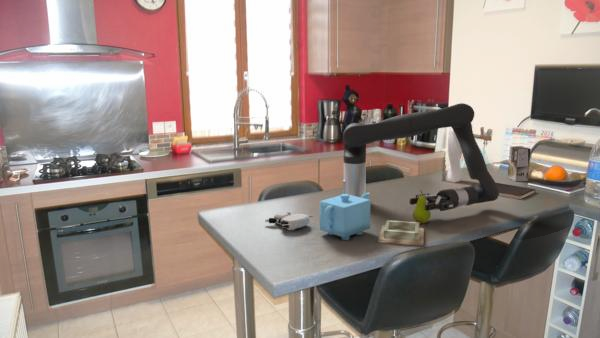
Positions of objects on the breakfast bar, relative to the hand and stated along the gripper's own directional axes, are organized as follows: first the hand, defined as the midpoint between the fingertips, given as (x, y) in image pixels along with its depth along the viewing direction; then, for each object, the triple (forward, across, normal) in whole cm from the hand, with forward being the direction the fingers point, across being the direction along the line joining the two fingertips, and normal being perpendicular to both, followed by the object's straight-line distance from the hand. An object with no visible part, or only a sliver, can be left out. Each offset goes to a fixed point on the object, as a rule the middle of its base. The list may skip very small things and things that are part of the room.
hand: (417, 204), depth 161 cm
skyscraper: (-58, -43, +8) cm, 72 cm away
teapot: (+27, -4, +7) cm, 28 cm away
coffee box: (-87, -29, +7) cm, 92 cm away
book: (-62, -17, +8) cm, 64 cm away
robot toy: (+42, -20, +7) cm, 47 cm away
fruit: (-2, 0, +7) cm, 7 cm away
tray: (+13, +8, +7) cm, 17 cm away
